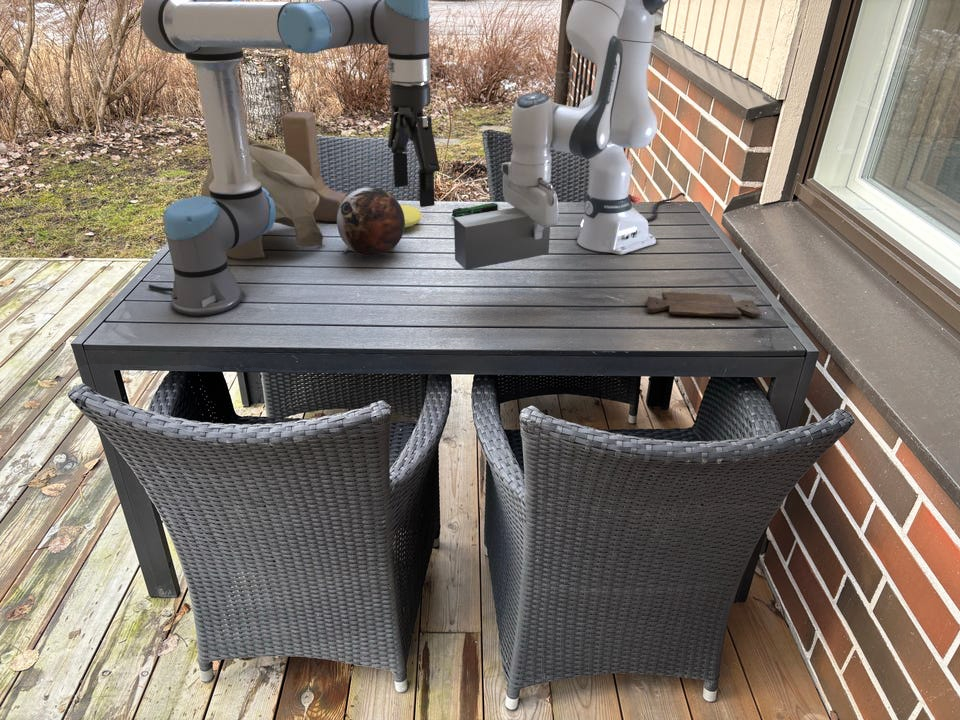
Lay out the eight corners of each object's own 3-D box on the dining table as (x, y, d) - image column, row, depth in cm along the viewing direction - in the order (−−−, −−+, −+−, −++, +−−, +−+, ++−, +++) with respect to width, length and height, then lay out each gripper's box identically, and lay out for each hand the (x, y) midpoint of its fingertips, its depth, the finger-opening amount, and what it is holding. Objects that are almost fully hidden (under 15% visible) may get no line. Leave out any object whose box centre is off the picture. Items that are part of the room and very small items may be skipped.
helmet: (337, 253, 194) (330, 140, 179) (228, 274, 179) (210, 153, 164) (298, 224, 213) (288, 120, 198) (196, 241, 198) (178, 130, 183)
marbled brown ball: (330, 217, 201) (372, 164, 193) (380, 258, 206) (423, 208, 197) (307, 245, 182) (352, 187, 173) (363, 289, 186) (409, 234, 178)
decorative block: (341, 222, 212) (332, 118, 197) (293, 219, 214) (280, 116, 199) (348, 214, 219) (340, 113, 204) (301, 211, 221) (289, 110, 205)
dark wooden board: (642, 297, 172) (648, 316, 163) (643, 291, 171) (649, 310, 162) (751, 300, 171) (762, 319, 162) (752, 293, 170) (764, 313, 161)
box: (536, 244, 170) (537, 203, 165) (548, 254, 165) (550, 212, 160) (454, 259, 163) (453, 217, 157) (465, 270, 158) (465, 226, 152)
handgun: (467, 223, 206) (446, 206, 217) (467, 232, 208) (445, 215, 219) (516, 216, 213) (492, 199, 224) (515, 225, 214) (492, 209, 226)
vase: (376, 214, 219) (375, 191, 216) (426, 217, 218) (426, 194, 214) (362, 232, 206) (360, 208, 202) (415, 235, 204) (415, 212, 201)
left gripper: (368, 72, 139) (374, 180, 150) (416, 96, 120) (420, 217, 131) (404, 70, 142) (408, 176, 153) (457, 92, 123) (457, 212, 133)
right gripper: (567, 184, 149) (563, 245, 157) (522, 159, 165) (521, 216, 173) (540, 188, 147) (538, 250, 155) (497, 162, 163) (497, 220, 170)
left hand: (413, 195), depth 142 cm, fingers open, 13 cm apart
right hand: (528, 232), depth 164 cm, fingers closed on box, 6 cm apart
